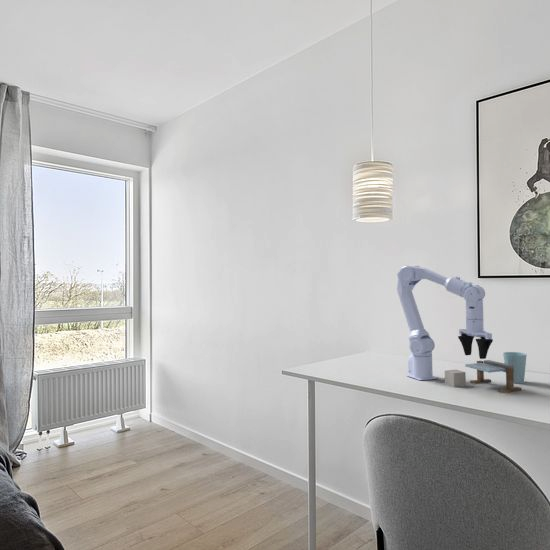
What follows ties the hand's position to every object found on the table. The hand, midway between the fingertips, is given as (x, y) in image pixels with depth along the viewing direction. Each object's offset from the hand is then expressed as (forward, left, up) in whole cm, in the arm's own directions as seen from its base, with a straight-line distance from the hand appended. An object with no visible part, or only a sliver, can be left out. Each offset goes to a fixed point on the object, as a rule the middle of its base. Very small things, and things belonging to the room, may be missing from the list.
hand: (475, 356), depth 163 cm
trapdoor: (+4, +3, -4) cm, 6 cm away
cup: (+1, +17, -11) cm, 20 cm away
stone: (-3, -6, -10) cm, 13 cm away
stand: (+4, +5, -10) cm, 12 cm away
